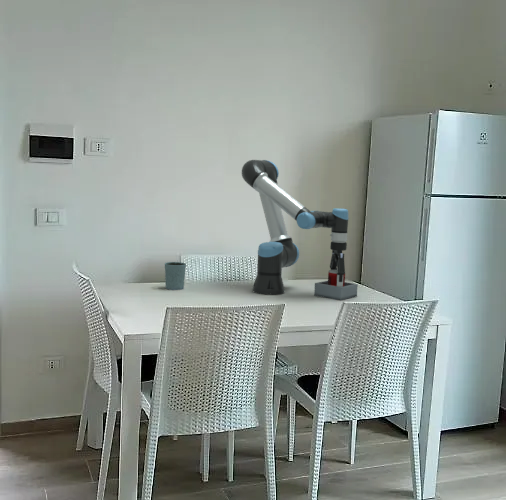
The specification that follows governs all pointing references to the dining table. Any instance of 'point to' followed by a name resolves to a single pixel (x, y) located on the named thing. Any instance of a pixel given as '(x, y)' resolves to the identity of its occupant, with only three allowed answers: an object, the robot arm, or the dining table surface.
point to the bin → (335, 290)
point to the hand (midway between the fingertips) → (336, 286)
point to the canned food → (334, 278)
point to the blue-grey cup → (175, 275)
